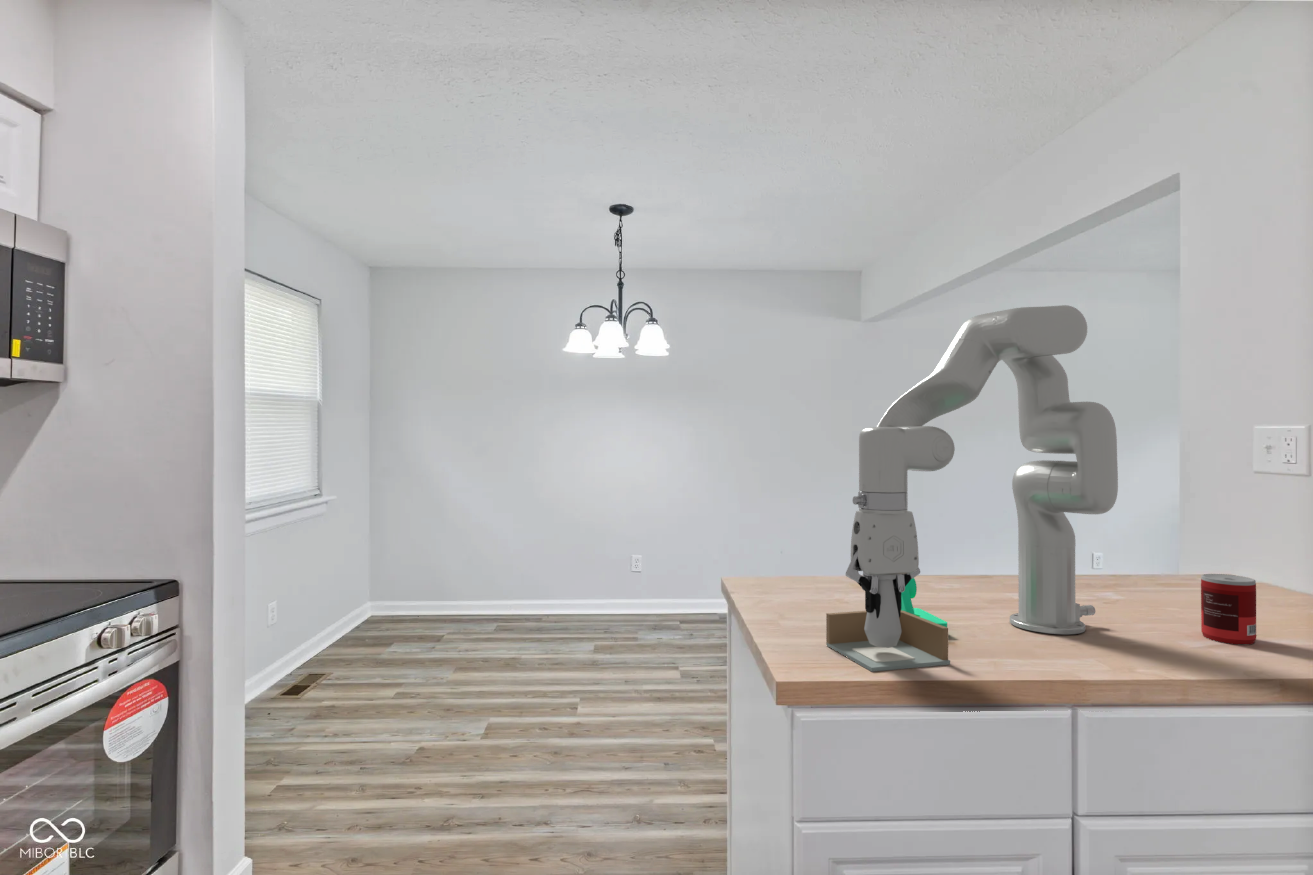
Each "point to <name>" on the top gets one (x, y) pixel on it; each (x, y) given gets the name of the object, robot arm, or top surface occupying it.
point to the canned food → (1228, 608)
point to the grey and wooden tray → (914, 648)
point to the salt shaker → (884, 616)
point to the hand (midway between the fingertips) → (883, 614)
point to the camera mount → (908, 607)
